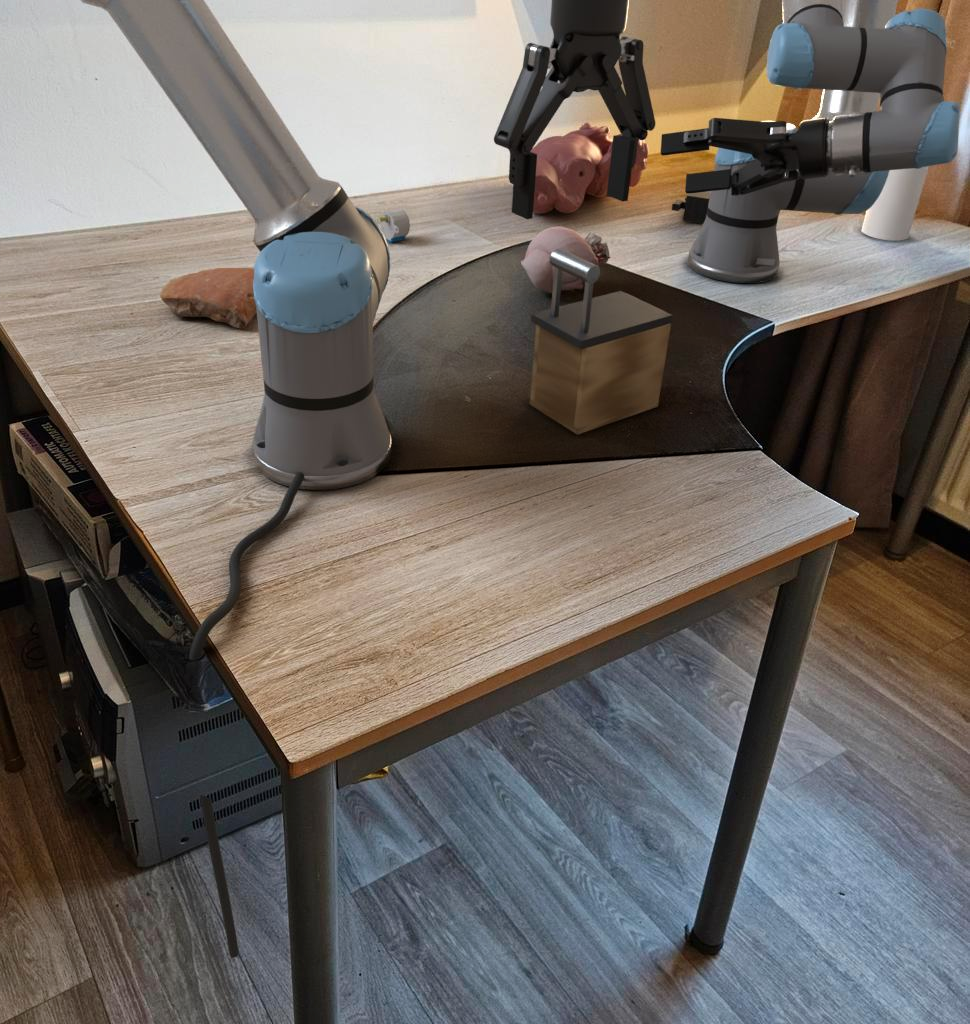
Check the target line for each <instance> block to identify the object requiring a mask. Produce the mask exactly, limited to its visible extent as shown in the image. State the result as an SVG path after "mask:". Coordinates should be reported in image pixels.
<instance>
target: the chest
mask: <svg viewBox="0 0 970 1024" xmlns="http://www.w3.org/2000/svg"><path fill="white" fill-rule="evenodd" d="M671 329H672V322H671V323H670V324H666V325H663V326H659V327H656V328H652V329H649V330H645V331H642V332H639V333H635V334H632V335H628V336H625V337H621V338H618V339H614V340H611V341H608V342H604V343H601V344H597V345H594V346H590V347H587V348H583V349H580V348H578V347H576V346H574V345H572V344H570V343H569V342H567V341H565V340H563V339H561V338H560V337H558V336H556V335H554V334H552V333H550V332H549V331H547V330H545V329H543V328H541V327H540V326H538V325H536V324H535V334H534V347H533V359H532V373H531V385H530V396H529V397H530V398H529V405H530V406H531V407H533V408H534V409H536V410H538V411H539V412H540V413H542V414H543V415H545V416H546V417H549V418H550V419H552V420H554V422H556V423H558V424H559V425H561V426H563V427H564V428H566V429H567V430H569V431H571V432H572V433H574V434H575V435H577V436H578V435H581V434H583V433H586V432H589V431H592V430H595V429H598V428H600V427H603V426H607V425H609V424H612V423H615V422H617V421H620V420H625V419H626V418H630V417H632V416H635V415H638V414H640V413H643V412H646V411H649V410H652V409H655V408H657V407H659V405H660V394H661V389H662V384H663V383H662V382H663V377H664V370H665V365H666V360H667V359H666V358H667V353H668V346H669V340H670V334H671V333H670V332H671Z"/></svg>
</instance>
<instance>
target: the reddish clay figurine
mask: <svg viewBox="0 0 970 1024" xmlns="http://www.w3.org/2000/svg"><path fill="white" fill-rule="evenodd" d="M610 130H611V129H610V127H608V126H607V125H605V126H604V125H602V126H600V127H598V126H592V125H591V124H590V123H589V122H585V123H584V124H581V126H580V127H579V129H576V130H573V131H570V132H568V133H566V134H565V135H554V136H549V137H546V138H544V139H542V140H540V141H539V142H538V143H536V144H535V145H534V147H533V148H532V150H531V151H530V152H532V153H535V154H537V165H536V179H535V193H534V207H533V214H534V213H535V214H546V213H549V212H551V211H552V210H553V209H554V208H555V209H556V210H557V211H559V212H560V213H564V214H569V213H573V212H575V211H578V209H579V208H581V206H582V203H584V199H585V195H591V196H593V197H596V198H599V197H604V198H606V197H608V198H610V197H609V196H607V188H608V179H609V170H610V161H611V153H612V144H613V137H611V136H610V135H609V134H610ZM618 135H620V136H622V134H621V133H618ZM648 157H649V146H648V143H647V142H646V141H645V140H640V139H639V140H638V148H637V156H636V163H635V166H634V168H632V170H631V178H630V186H629V188H630V187H631V188H635V187H636V186H637V185H638V184H639V183H640V181H641V178H642V174H643V171H645V170H646V169H647V164H648V161H647V160H648Z"/></svg>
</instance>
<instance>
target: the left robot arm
mask: <svg viewBox="0 0 970 1024" xmlns="http://www.w3.org/2000/svg"><path fill="white" fill-rule="evenodd" d="M80 1H81V3H83V4H86V5H89V6H92V7H96V8H100V9H102V10H104V11H106V12H107V13H108V14H109V16H110V17H111V19H112V21H114V23H115V24H116V26H117V28H118V29H119V30H120V31H121V33H122V35H123V36H124V37H125V39H126V40H127V41H128V43H129V44H130V45H131V47H132V48H133V50H134V51H135V53H136V54H137V56H138V57H139V58H140V60H141V61H142V63H143V64H144V65H145V67H146V68H147V70H148V71H149V72H150V74H151V75H152V77H153V78H154V79H155V81H156V82H157V84H158V85H159V87H160V88H161V90H162V91H163V92H164V94H165V95H166V97H167V98H168V99H169V101H170V102H171V103H172V106H174V108H175V109H176V111H177V112H178V113H179V115H180V117H181V118H182V119H183V121H184V123H185V124H186V125H187V127H188V128H189V129H190V130H191V132H192V133H193V136H195V138H196V140H197V141H198V142H199V143H200V145H201V146H202V148H203V149H204V151H205V152H206V153H207V155H208V156H209V158H210V160H211V161H212V162H213V163H214V164H215V166H216V167H217V169H218V170H219V173H221V175H222V176H223V177H224V179H225V180H226V181H227V183H228V184H229V186H230V187H231V188H232V190H233V192H234V193H235V194H236V196H237V197H238V199H239V200H240V201H241V203H242V204H243V206H244V207H245V208H246V210H247V211H248V213H249V214H250V216H251V217H252V218H253V220H254V234H253V239H252V240H253V241H252V242H253V244H254V246H256V248H257V249H258V251H259V253H258V255H257V257H256V259H255V262H254V267H253V268H254V280H253V292H254V300H255V302H256V309H257V313H256V318H257V326H258V327H257V328H258V329H257V330H258V338H259V339H258V340H259V349H260V359H261V369H262V378H263V388H264V390H263V391H264V396H263V400H262V404H261V408H260V412H259V415H258V419H257V423H256V427H255V430H254V434H253V439H252V455H253V460H254V464H255V467H256V468H257V470H258V471H259V472H260V473H261V474H262V475H263V476H265V477H266V478H268V479H269V480H271V481H273V482H275V483H278V484H280V485H283V486H286V487H288V488H287V491H286V492H285V495H284V496H283V499H282V502H281V504H280V506H279V508H278V510H277V512H276V513H275V514H274V515H273V517H271V518H270V519H269V520H268V521H267V522H265V523H264V524H262V525H261V526H259V527H258V528H255V530H253V531H252V532H250V533H249V534H247V535H246V536H244V538H242V539H241V540H240V541H239V542H238V544H237V545H236V546H235V548H234V549H233V551H232V552H231V555H230V558H229V562H228V571H229V572H228V573H229V581H230V582H229V590H228V594H227V597H226V598H225V600H224V601H223V602H222V603H221V604H220V605H219V606H218V607H217V608H216V609H214V610H213V611H212V612H211V613H210V614H209V615H208V616H207V617H206V618H205V619H204V620H203V621H202V622H201V624H200V625H199V627H198V629H197V631H196V633H195V635H194V638H193V640H192V643H191V647H190V650H189V656H188V659H189V660H190V661H196V660H199V659H200V658H201V657H202V654H203V650H204V646H205V643H206V640H207V638H208V636H209V634H210V632H211V631H212V630H213V629H214V627H215V626H216V625H217V624H218V623H220V621H222V620H223V619H224V618H225V617H226V616H227V615H228V614H229V613H231V611H232V610H233V609H234V607H235V606H236V604H237V603H238V600H239V598H240V595H241V590H242V576H241V567H240V566H241V560H242V558H243V555H244V554H245V552H246V551H247V550H248V549H249V548H250V547H252V546H253V544H255V543H257V542H258V541H259V540H261V539H263V538H264V537H266V536H267V535H269V534H270V533H272V532H273V531H274V530H275V529H277V527H279V525H281V524H282V523H283V521H284V520H285V519H286V517H287V515H288V513H289V512H290V509H291V507H292V505H293V503H294V500H295V497H296V495H297V493H298V491H299V489H301V490H312V491H314V490H315V491H323V490H327V491H328V490H337V489H342V488H348V487H351V486H355V485H358V484H361V483H363V482H366V481H368V480H370V479H373V478H374V477H375V476H377V475H378V474H380V473H381V472H382V471H383V470H384V469H385V468H386V467H387V466H388V464H389V463H390V461H391V458H392V436H394V425H393V424H392V422H391V421H390V420H389V419H388V417H387V416H386V415H385V413H384V412H383V411H382V408H381V406H380V403H379V400H378V398H377V395H376V393H375V385H374V341H373V340H374V339H373V338H374V336H373V334H374V323H375V319H376V316H377V312H378V309H379V306H380V303H381V300H382V297H383V294H384V291H385V290H386V289H387V288H386V287H387V285H388V282H389V277H390V272H391V256H390V255H391V254H390V249H389V248H390V247H389V243H388V241H387V240H386V237H385V235H384V233H383V231H382V228H381V225H380V224H378V222H377V220H375V219H374V218H373V217H372V216H371V215H370V214H369V213H367V212H366V211H365V210H364V209H362V208H360V207H357V206H355V205H354V203H353V202H352V200H351V199H350V197H349V196H348V193H346V191H345V189H344V188H343V186H342V185H341V183H339V181H334V180H330V179H325V178H322V177H321V176H319V174H318V173H317V171H316V169H315V168H314V167H313V165H312V163H311V162H310V161H309V159H308V158H307V156H306V154H305V153H304V151H303V150H302V148H301V147H300V145H299V144H298V142H297V140H296V139H295V137H294V135H292V133H291V131H290V130H289V128H288V126H287V125H286V123H285V122H284V121H283V119H282V118H281V116H280V114H279V112H278V111H277V110H276V108H275V107H274V105H273V103H272V102H271V101H270V99H269V97H268V95H266V93H265V91H264V90H263V88H262V86H261V85H260V84H259V82H258V81H257V79H256V77H255V76H254V75H253V73H252V71H251V70H250V69H249V67H248V65H247V63H246V62H245V61H244V59H243V58H242V56H241V55H240V52H238V50H237V49H236V47H235V45H234V44H233V42H232V41H231V40H230V38H229V36H228V35H227V33H226V31H225V30H224V29H223V27H222V25H221V24H220V23H219V21H218V20H217V18H216V17H215V15H214V13H213V12H212V10H211V9H210V7H209V5H208V4H207V2H206V1H205V0H80ZM629 3H630V0H551V8H550V21H549V24H550V27H551V30H552V33H553V37H552V41H551V44H550V46H546V45H541V44H537V43H533V42H528V43H527V44H526V46H525V47H524V48H525V49H524V55H523V62H522V68H521V71H520V73H519V75H518V78H517V80H516V83H515V85H514V87H513V90H512V92H511V94H510V96H509V100H508V103H507V104H506V107H505V109H504V112H503V114H502V117H501V119H500V121H499V123H498V127H497V128H496V131H495V134H494V136H493V142H494V144H495V145H497V146H499V147H502V148H505V149H506V150H508V151H509V164H508V165H509V167H508V182H509V183H510V184H512V196H511V197H512V199H511V213H512V214H514V215H516V216H518V217H521V218H523V219H525V220H532V219H533V218H534V212H533V207H534V193H535V179H536V165H537V154H535V153H532V152H530V151H531V150H532V148H534V147H535V146H536V145H537V142H538V140H539V139H540V138H541V137H542V135H543V133H544V132H545V130H546V128H547V127H548V126H549V124H550V122H551V121H552V119H553V117H554V116H555V114H556V113H557V111H558V110H559V109H560V107H561V105H562V104H563V102H564V101H565V100H566V99H569V98H570V97H571V95H572V94H573V93H583V92H585V91H587V90H589V91H594V92H596V91H598V92H599V95H600V96H601V99H602V101H603V103H604V104H605V106H606V108H607V110H608V112H609V113H610V116H611V118H612V120H613V121H614V123H615V125H616V127H617V129H618V131H619V134H622V136H620V135H619V134H616V135H613V136H612V139H613V144H612V153H611V161H610V170H609V179H608V188H607V196H609V197H608V198H612V199H615V200H617V201H620V202H622V203H624V202H628V201H629V193H630V178H631V170H632V168H634V166H635V163H636V156H637V148H638V140H639V139H640V140H644V141H645V140H646V139H647V138H648V132H652V131H653V130H654V129H655V128H656V118H655V113H654V109H653V105H652V104H653V103H652V101H651V100H652V99H651V96H650V95H651V94H650V90H649V86H648V82H647V76H646V71H645V68H644V41H643V40H641V39H638V38H634V37H629V36H622V37H620V36H621V35H622V34H623V33H624V32H625V31H626V30H627V29H626V28H627V23H628V13H629ZM617 63H618V67H619V72H620V75H619V73H618V71H617V69H616V67H615V66H616V65H617ZM548 69H549V70H548ZM620 76H621V77H620ZM622 86H623V87H622ZM391 435H392V436H391ZM199 801H200V806H201V807H200V808H201V812H202V818H203V824H204V829H205V834H206V839H207V846H208V851H209V855H210V860H211V865H212V870H213V875H214V879H215V884H216V889H217V894H218V898H219V904H220V909H221V910H220V911H221V915H222V919H223V925H224V931H225V936H226V942H227V948H228V953H229V957H230V958H233V959H235V958H237V957H238V956H239V955H240V950H239V945H238V938H237V937H238V936H237V932H236V926H235V920H234V915H233V910H232V904H231V898H230V893H229V887H228V884H227V883H228V882H227V877H226V872H225V866H224V862H223V857H222V851H221V846H220V840H219V835H218V830H217V824H216V818H215V813H214V806H213V800H212V798H210V797H209V796H206V795H203V794H199Z"/></svg>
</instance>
